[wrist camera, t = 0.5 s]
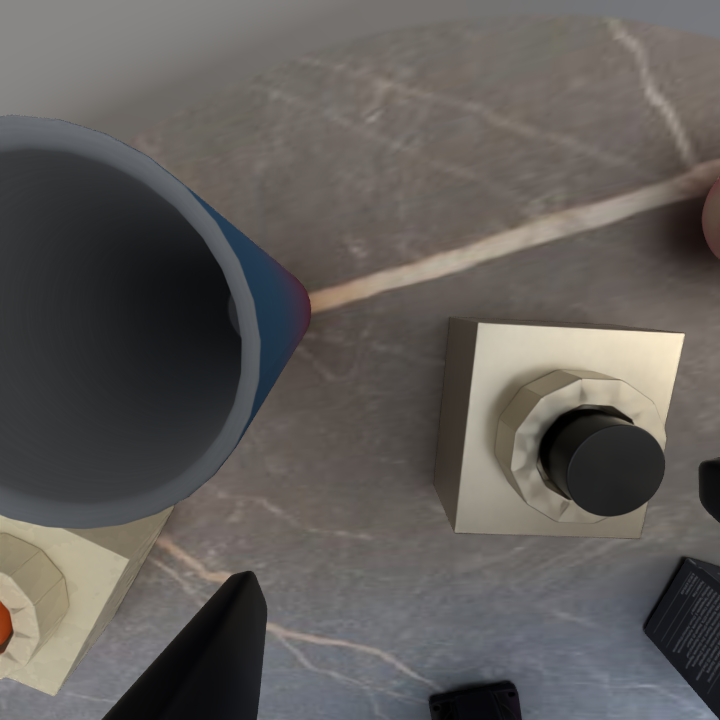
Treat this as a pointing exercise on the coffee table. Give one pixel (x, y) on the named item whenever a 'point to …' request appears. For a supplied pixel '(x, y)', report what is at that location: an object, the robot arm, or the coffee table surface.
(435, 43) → the coffee table surface
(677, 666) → the small box
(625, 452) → the button
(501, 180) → the coffee table surface
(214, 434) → the cup
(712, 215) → the decorative fruit
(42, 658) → the beige button housing
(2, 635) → the power button
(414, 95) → the coffee table surface
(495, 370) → the beige button base
